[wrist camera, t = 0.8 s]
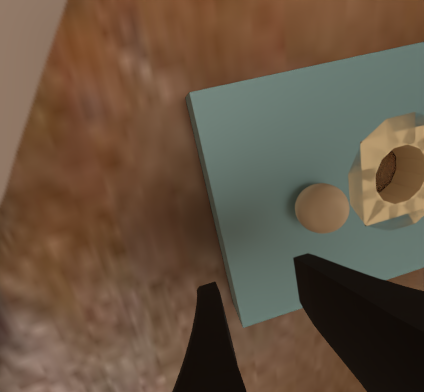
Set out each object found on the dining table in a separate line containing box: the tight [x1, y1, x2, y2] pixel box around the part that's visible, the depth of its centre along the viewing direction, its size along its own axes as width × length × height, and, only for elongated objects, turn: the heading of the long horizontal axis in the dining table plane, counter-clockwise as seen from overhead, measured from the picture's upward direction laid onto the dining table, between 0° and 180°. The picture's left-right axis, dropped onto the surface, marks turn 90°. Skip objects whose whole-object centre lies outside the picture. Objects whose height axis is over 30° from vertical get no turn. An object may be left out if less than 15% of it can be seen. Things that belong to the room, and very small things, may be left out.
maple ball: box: [295, 183, 349, 234], centre depth 16 cm, size 3×3×3 cm
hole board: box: [185, 42, 424, 328], centre depth 19 cm, size 18×16×2 cm
